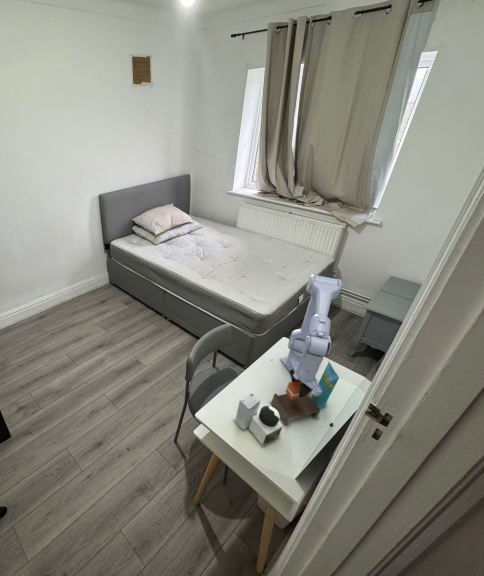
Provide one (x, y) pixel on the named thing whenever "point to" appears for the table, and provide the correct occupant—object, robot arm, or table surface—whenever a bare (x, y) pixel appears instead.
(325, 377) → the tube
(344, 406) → the table surface
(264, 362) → the table surface
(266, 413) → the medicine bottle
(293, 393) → the snack box
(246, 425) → the cosmetic box
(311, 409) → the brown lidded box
